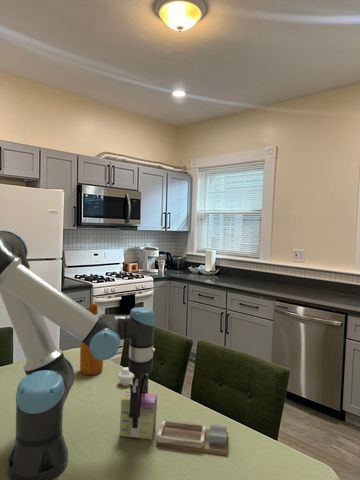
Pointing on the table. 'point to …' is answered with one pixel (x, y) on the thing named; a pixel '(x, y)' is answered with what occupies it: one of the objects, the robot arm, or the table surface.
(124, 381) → the white ribbed rounded piece
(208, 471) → the table surface
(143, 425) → the box
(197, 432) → the shallow tray
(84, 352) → the wine bottle
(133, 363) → the robot arm
